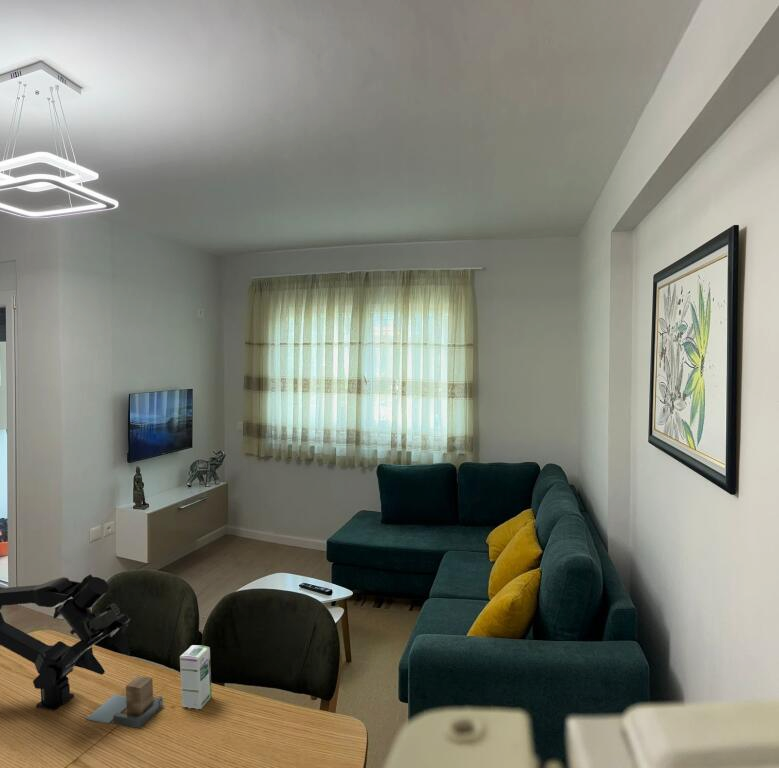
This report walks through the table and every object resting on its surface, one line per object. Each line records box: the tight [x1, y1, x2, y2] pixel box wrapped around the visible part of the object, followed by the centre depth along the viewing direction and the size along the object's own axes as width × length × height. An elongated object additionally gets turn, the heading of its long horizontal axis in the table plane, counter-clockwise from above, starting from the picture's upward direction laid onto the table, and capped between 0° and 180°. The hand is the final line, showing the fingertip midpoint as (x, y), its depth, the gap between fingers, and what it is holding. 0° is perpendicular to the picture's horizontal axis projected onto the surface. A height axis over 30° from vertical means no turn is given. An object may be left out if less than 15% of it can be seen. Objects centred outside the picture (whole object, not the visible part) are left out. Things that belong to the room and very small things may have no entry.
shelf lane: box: [112, 696, 164, 729], centre depth 141 cm, size 8×9×2 cm
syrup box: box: [179, 644, 213, 710], centre depth 146 cm, size 6×6×14 cm
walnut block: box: [125, 675, 154, 716], centre depth 141 cm, size 4×4×9 cm
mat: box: [85, 694, 127, 725], centre depth 144 cm, size 7×10×1 cm
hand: (116, 663), depth 142 cm, fingers open, 9 cm apart
